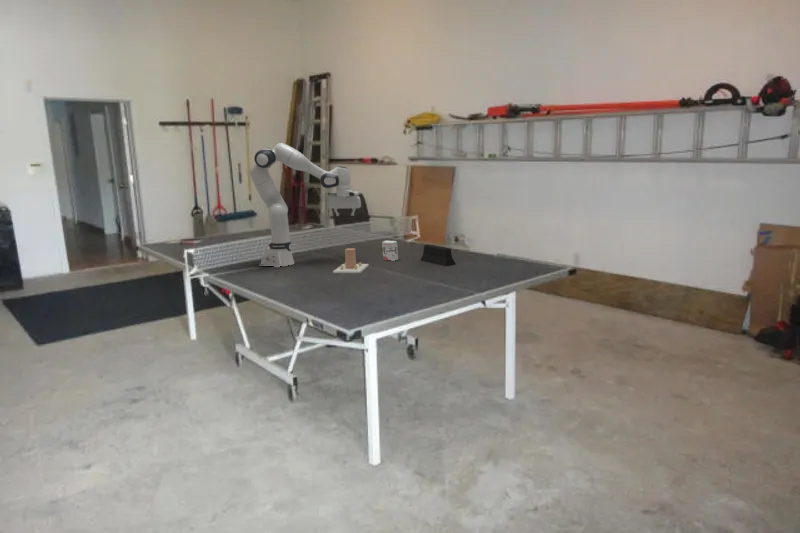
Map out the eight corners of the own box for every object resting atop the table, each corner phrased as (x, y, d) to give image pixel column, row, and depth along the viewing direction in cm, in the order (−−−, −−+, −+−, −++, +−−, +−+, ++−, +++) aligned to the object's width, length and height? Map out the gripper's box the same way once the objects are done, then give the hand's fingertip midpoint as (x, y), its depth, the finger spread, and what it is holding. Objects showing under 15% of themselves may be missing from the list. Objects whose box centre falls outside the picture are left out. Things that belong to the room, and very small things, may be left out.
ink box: (382, 260, 356) (381, 241, 353) (386, 258, 360) (385, 240, 358) (394, 261, 352) (393, 242, 349) (398, 259, 356) (397, 241, 354)
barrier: (456, 264, 337) (456, 247, 335) (445, 266, 332) (445, 250, 330) (430, 259, 356) (429, 243, 353) (419, 261, 350) (419, 245, 348)
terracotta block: (345, 268, 333) (344, 250, 330) (348, 266, 337) (347, 248, 335) (354, 268, 332) (353, 250, 329) (356, 266, 336) (355, 248, 334)
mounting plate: (333, 273, 327) (332, 267, 326) (343, 265, 346) (343, 260, 345) (359, 273, 324) (359, 268, 323) (368, 265, 343) (368, 260, 342)
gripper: (325, 193, 345) (327, 216, 348) (358, 193, 341) (359, 216, 344) (329, 192, 351) (330, 215, 354) (361, 192, 347) (362, 214, 350)
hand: (345, 215), depth 349 cm, fingers open, 8 cm apart
